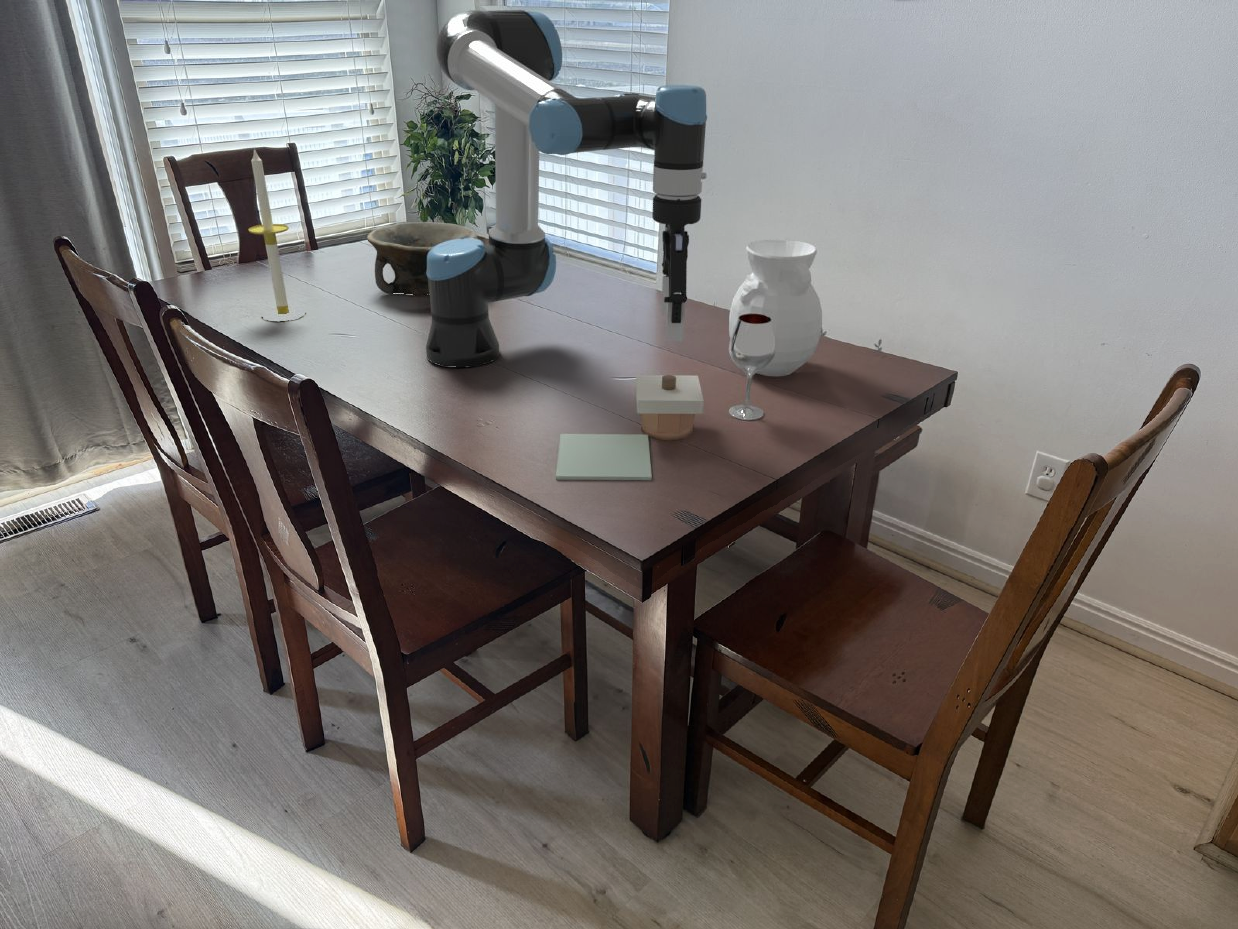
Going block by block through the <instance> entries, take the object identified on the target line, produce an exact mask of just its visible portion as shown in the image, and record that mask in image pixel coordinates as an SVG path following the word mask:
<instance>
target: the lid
mask: <svg viewBox="0 0 1238 929" xmlns="http://www.w3.org/2000/svg"><path fill="white" fill-rule="evenodd" d="M635 398H636V399H635V402H636V413H637V414H641V413H643V414H694V415H703V414H704V405H705V404H704V403H705V402H704V401H705V400H704V396H703V392H702V387H701V383H700V378H699V375H683V374H682V375H672V374H665V375H661V374H657V375H656V374H650V375H649V374H635Z"/></svg>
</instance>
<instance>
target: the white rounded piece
mask: <svg viewBox="0 0 1238 929" xmlns="http://www.w3.org/2000/svg"><path fill="white" fill-rule="evenodd" d="M745 250H746V256H747V260H748V262H749V266H750V268H751V271H752V272H751V274H747V276H746V277H745V280H744V281H743V282H742V284H740V286H739V287H738V289H737V292H736V293H735V294H734V297H733V299H732V302H731V305H730V310H729V318H728V319H729V320H728V321H729V322H728V325H729V326H728V333H729V335H728V336H729V339H730V340H731V337H732V334H733V331H734V328H735V325H736V323H737V320H738V317H739V316H740V315H743V314H762V315H766V316H768V317H770V318H771V319H772V325H773V330H774V337H775V344H776V351H775V355H774V357H773V359H772V360H771V362H770V363H769V364H768V365H767V366H765V367H764V368H762V369H761V370H759V371H758V372H756V373H755V374H758V375H761V376H765V377H786V376H788V375H791V374H793V373H794V372H795V371H796V370H798V369H799V368H800V367H802V366H803V365H805V364H806V362H808V360H809V359H810V358H811V357H812V356H813V355H814V353H815V351H816V349H817V347H818V345H819V341H820V337H821V332H822V327H823V309H822V305H821V300H820V297H819V295H818V293H817V291H816V290H815V288H814V285H813V284H812V274H811V270H810V269H811V267H812V265H813V263H814V260H815V258H816V255H817V254H818V252H817V248H816V247H815V246H814V245H812V244H811V243H808V242H804V241H798V240H790V239H789V240H787V239H785V240H784V239H762V240H756V241H752V242H750V243H749V244H748V245H747V246H746V247H745Z"/></svg>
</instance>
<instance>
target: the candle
mask: <svg viewBox="0 0 1238 929" xmlns="http://www.w3.org/2000/svg"><path fill="white" fill-rule="evenodd" d="M251 167H252V173H253V178H254V183H255V188H256V189H255V190H256V195H257V200H258V206H259V212H260V217H261V223H262V224H257V225H254V226H252V227H249V228H248V232H249V233H250V234H254V235H263V238H264V244H265V249H266V250H265V251H266V254H267V260H268V267H269V270H270V276H271V282H272V288H273V293H274V294H273V295H274V299H275V300H274V301H275V304H276V309H277V311H278V314H287V313H289V309H288V308H289V304H288V299H287V298H288V297H287V292H286V286H285V282H284V275H283V270H282V264H281V258H280V251H279V246H278V241H277V235H276V234H280V233H284V232H286V231H288V230H289V226H288V225H286V224H283V223H281V224H280V223H274V221H273V218H272V211H271V206H270V199H269V194H268V189H267V184H266V183H267V182H266V178H265V173H264V166H263V159H261V158H260V156H259V155H258V153H257V150H256V149H255V147H254V148H253V156H252V159H251Z"/></svg>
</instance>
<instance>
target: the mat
mask: <svg viewBox="0 0 1238 929" xmlns="http://www.w3.org/2000/svg"><path fill="white" fill-rule="evenodd" d="M559 437H560V438H559V446H558V452H557V453H558V454H557V463H556V471H555V472H556V473H555V480H560V481H561V480H563V481H564V480H565V481H568V480H569V481H570V480H574V481H575V480H576V481H577V480H579V481H580V480H581V481H582V480H585V481H587V480H588V481H589V480H591V481H595V480H596V481H598V480H599V481H600V480H601V481H606V480H607V481H652V467H651V454H650V443H649V442H650V441H649V436H648V435H645V434H641V433H640V434H633V433H632V434H629V433H627V434H625V433H624V434H621V433H615V434H614V433H613V434H612V433H611V434H610V433H609V434H608V433H560V436H559Z"/></svg>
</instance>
